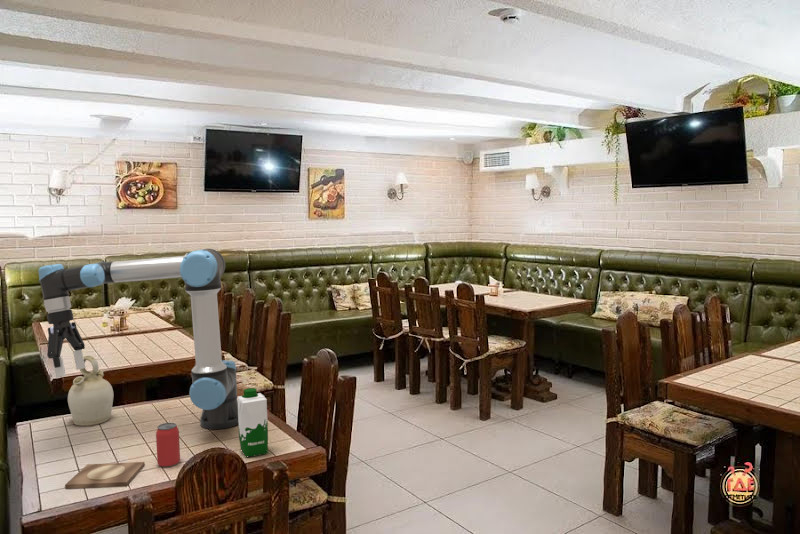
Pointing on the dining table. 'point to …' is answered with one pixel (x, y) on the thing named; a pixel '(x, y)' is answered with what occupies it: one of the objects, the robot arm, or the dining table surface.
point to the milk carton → (253, 423)
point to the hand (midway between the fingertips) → (71, 372)
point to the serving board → (105, 475)
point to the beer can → (167, 445)
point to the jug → (90, 397)
